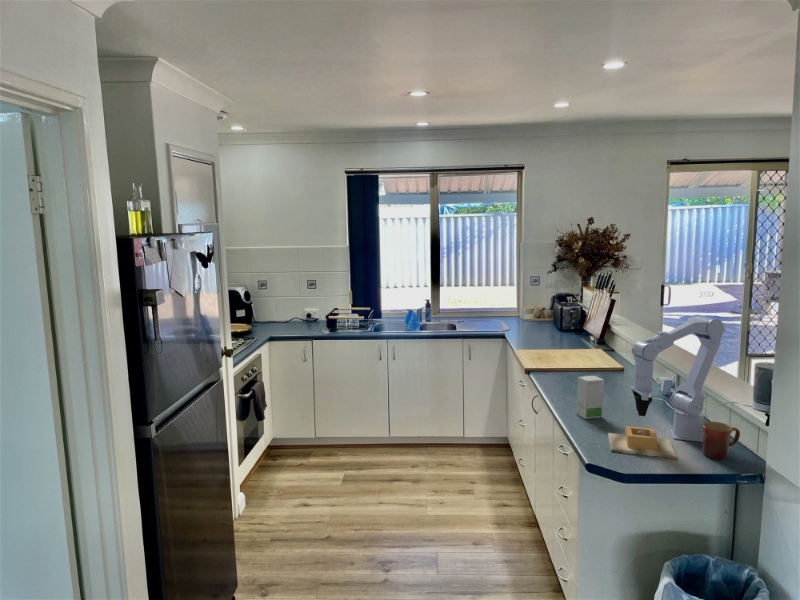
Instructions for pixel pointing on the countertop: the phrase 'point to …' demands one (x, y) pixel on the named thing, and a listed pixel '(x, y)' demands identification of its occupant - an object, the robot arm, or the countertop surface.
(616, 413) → the countertop surface
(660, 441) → the plate
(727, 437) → the mug
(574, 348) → the countertop surface
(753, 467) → the countertop surface
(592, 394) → the skincare box
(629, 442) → the wooden open tray
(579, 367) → the countertop surface
